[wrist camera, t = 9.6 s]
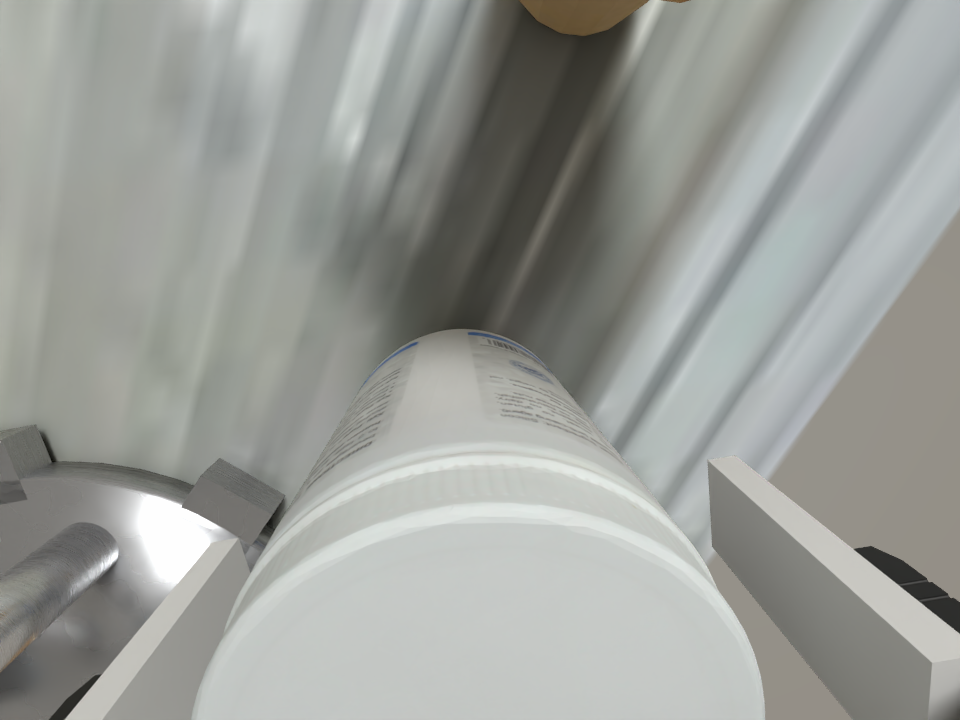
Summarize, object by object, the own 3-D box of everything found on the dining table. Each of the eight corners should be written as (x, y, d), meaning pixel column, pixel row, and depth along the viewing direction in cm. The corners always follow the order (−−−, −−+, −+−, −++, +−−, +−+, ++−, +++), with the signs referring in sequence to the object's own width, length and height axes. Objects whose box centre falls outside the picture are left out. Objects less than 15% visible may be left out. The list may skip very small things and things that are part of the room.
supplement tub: (391, 545, 23) (287, 1038, 9) (324, 357, 21) (38, 611, 7) (590, 492, 23) (810, 907, 9) (544, 297, 21) (742, 423, 6)
